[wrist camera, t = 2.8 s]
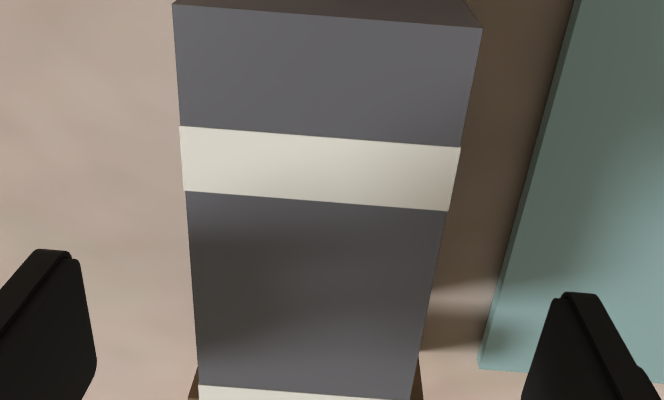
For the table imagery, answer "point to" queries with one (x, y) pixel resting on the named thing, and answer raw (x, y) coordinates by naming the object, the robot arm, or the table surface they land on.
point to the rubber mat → (592, 191)
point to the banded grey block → (317, 186)
